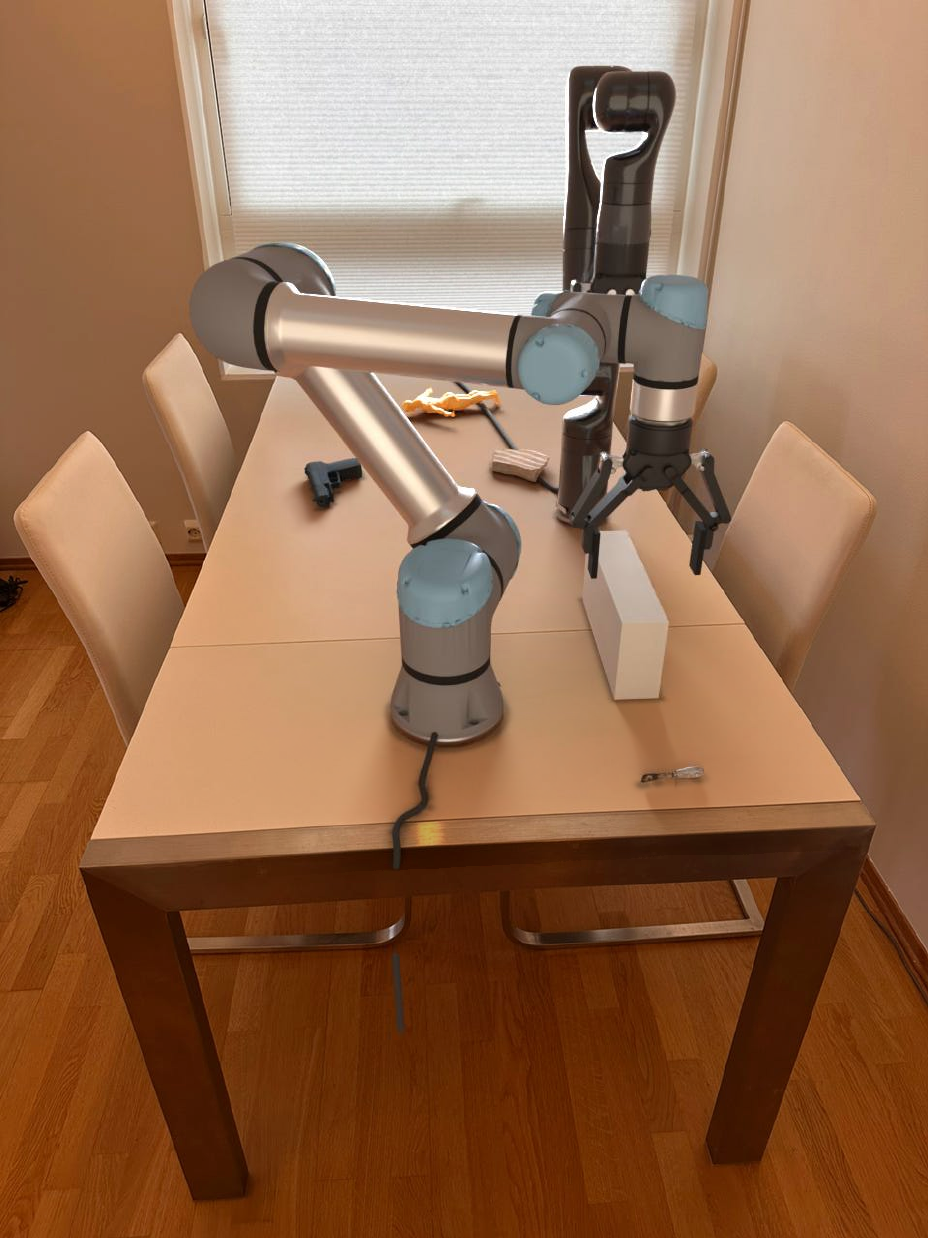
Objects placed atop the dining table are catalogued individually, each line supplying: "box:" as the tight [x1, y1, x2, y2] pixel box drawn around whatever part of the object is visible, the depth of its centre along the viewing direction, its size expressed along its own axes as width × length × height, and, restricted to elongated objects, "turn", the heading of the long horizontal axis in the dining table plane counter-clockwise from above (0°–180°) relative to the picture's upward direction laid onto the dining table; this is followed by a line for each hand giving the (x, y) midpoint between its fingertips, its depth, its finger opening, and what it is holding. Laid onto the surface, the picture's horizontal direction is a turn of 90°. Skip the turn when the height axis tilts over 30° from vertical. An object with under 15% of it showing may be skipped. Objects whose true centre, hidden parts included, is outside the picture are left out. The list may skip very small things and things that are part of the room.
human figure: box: [402, 385, 500, 418], centre depth 225 cm, size 20×20×4 cm
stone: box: [489, 448, 550, 483], centre depth 192 cm, size 13×12×2 cm
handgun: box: [303, 457, 363, 509], centre depth 184 cm, size 3×18×12 cm
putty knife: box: [640, 765, 705, 784], centre depth 109 cm, size 1×8×2 cm, turn 103°
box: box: [581, 529, 670, 701], centre depth 131 cm, size 27×6×12 cm, turn 3°
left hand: (643, 572), depth 117 cm, fingers open, 13 cm apart
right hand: (613, 352), depth 134 cm, fingers open, 8 cm apart
